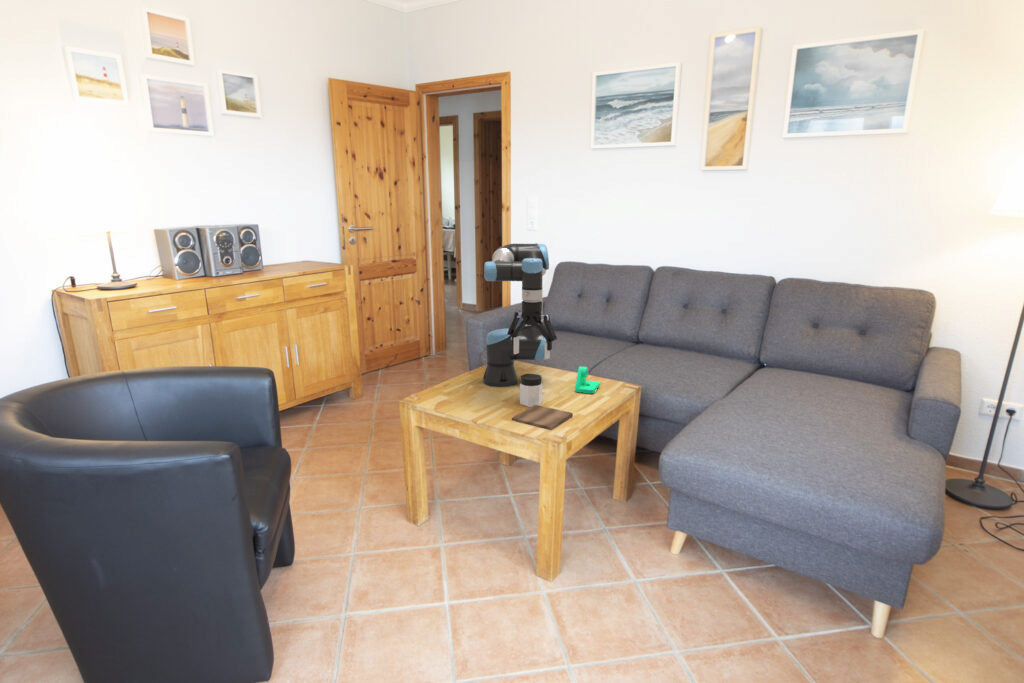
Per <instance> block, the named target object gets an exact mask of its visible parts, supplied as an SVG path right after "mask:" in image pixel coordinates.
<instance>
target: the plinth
mask: <svg viewBox="0 0 1024 683" xmlns="http://www.w3.org/2000/svg"><path fill="white" fill-rule="evenodd" d="M573 414H574V413H573V412H569V411H565V410H560V409H556V408H551V407H547V406H542V405H540V406H538V405H533V406H530V407H529V408H526V409H525V410H523V411H521V412H520V413H518V414H516V415H514V416H512V417H511V421H514V422H516V423H517V422H518V423H520V424H521V423H522V424H526V425H530V426H534V427H538V428H541V429H545V430H549V431H553V430H554V429H556V428H557V427H559V426H560V425H562V424H563V423H565V422H567V421H568V420H570V419H571V418H573V417H574V415H573Z"/></svg>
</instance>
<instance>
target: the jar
mask: <svg viewBox="0 0 1024 683" xmlns="http://www.w3.org/2000/svg"><path fill="white" fill-rule="evenodd" d="M542 404H543V382H542V375H540V374H538V373H525V374H521V376H520V383H519V405H523V406H525V407H529V408H530V407H532V406H533V405H538V406H541V405H542Z"/></svg>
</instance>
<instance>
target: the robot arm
mask: <svg viewBox="0 0 1024 683" xmlns="http://www.w3.org/2000/svg"><path fill="white" fill-rule="evenodd" d="M491 258H492V259H491V261H485V262H484V266H483V267H484V268H483V275H484V276H483V277H484V280H485V281H486V282H521V300H522V301H521V311H520V310H518V311H515V312H514V316H513V320H512V322H511V324H510V325H509V327H506V328H500V329H499V328H497V329H494V330H492V331H489V332H487V335H486V367H485V370H484V374H483V377H482V382H483V384H484V385H486V386H488V387H494V388H509V387H513V386H516V385H517V384H518V383H519V377H518V375H517V371H516V368H515V365H514V364H515V363H514V362H515V361H543V360H548V359H550V358H551V351H552V350H553V342H554V341H556V340H558V337H557V335H556V333H555V332H556V331H555V330H554V328H553V325H552V322H551V319H550V314H543V277H544V275H546V274H547V270H550V261H549V260H550V259H549V251H548V247H547V245H545V243H536V242H535V243H509V244H505V245H502V246H500V247H498V248H497V249H496V250H495V251H494V252H493V254H492V257H491ZM520 319H522V320H521V322H520V323H519V321H520ZM518 324H519V325H518Z"/></svg>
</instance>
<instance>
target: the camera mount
mask: <svg viewBox="0 0 1024 683" xmlns="http://www.w3.org/2000/svg"><path fill="white" fill-rule="evenodd" d="M577 370H578V371H577V375H576V380H575V386H574V387H575V388H574V392H575V393H582V392H583V393H584V394H590V393H593V394H595V393H596V392H595V390H596V389H597V388H598V389H599V388H600V386H601V384H600V383H601V382H600V381H595V380H587V378H588V376H589V367H588V366H578V369H577ZM599 385H600V386H599Z"/></svg>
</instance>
